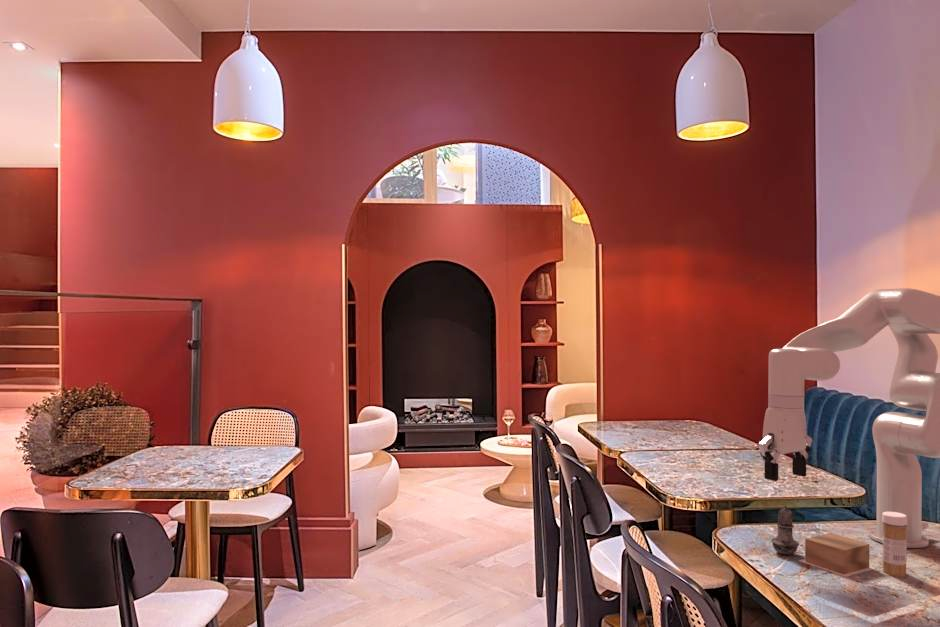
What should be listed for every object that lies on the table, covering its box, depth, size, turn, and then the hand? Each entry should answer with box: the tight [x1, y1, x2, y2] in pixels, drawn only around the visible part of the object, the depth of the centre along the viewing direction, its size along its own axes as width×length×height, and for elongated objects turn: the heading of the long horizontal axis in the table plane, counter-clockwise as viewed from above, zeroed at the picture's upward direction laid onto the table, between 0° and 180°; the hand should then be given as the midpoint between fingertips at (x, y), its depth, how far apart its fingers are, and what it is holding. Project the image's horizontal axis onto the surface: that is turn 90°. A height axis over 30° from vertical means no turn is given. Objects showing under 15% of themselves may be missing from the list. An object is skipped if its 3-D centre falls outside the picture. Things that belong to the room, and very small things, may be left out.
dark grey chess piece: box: [770, 504, 800, 556], centre depth 162 cm, size 6×6×12 cm
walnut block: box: [804, 532, 870, 574], centre depth 155 cm, size 9×9×5 cm
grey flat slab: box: [798, 558, 877, 578], centre depth 155 cm, size 16×12×1 cm
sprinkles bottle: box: [882, 512, 908, 578], centre depth 150 cm, size 5×5×14 cm
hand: (785, 477), depth 162 cm, fingers open, 9 cm apart
